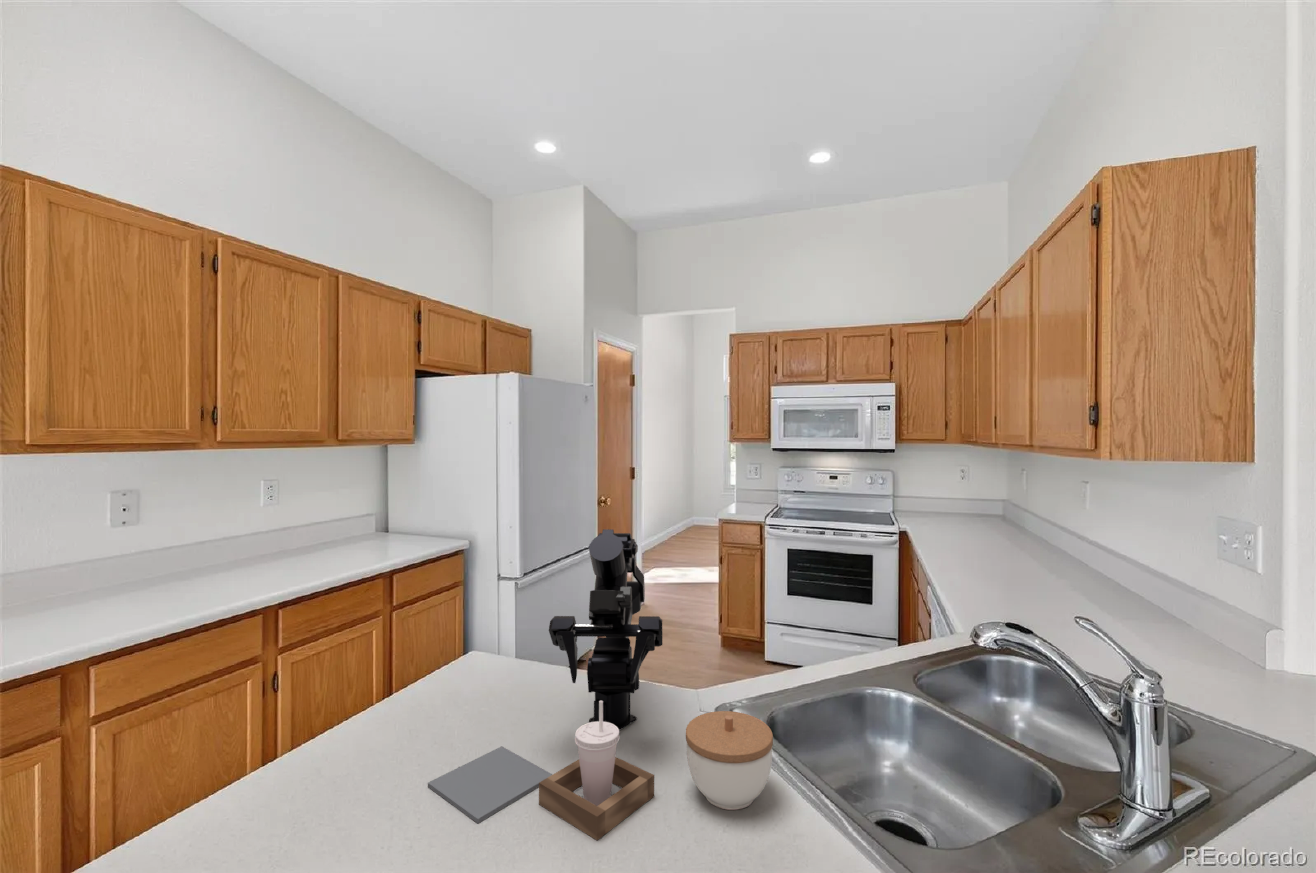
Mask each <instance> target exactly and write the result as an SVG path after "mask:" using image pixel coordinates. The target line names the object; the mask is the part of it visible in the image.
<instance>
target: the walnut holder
mask: <svg viewBox="0 0 1316 873" xmlns="http://www.w3.org/2000/svg"><path fill="white" fill-rule="evenodd" d="M552 774H553V775H551V776H550V777H548V778H546V779H544V780H543V781H541V782H539V787H538V805H539V806H541V807H542V808H544V809H546V810H547V811H549V812H550V813H552V814H554V815H555V816H557V817H558V818H561V819H562V820H563V821H565V822H567V823H568V824H569V825H571V826H573V827H575V828H576V829H578V830H580V831H581V832H582V833H585V835H588V837H591V838H592V839H594V840H595V841H599V840H600V839H602V837H603V836H605V835H607V834H608V833H609V832H610V831H611V830H613V829H614V828H615V827H617V826H618V825H619V824H620V823H622V822H623V821H624V820H626V819H627V818H628V817H630V816H631V815H632V814H633V813H635V812H636V811H637V810H638V809H640V808H641V807H642V806H643V805H645V804H646V803H648V802H649V801H651V799H653V798H654V797H655V774H653V773H650V772H648V771H647V770H645V769H642V768H641V767H638V766H636V765H634V764H632V763H629V762H627V761H625V760H623V759H621V758H619V757H617V756H615V764H614V772H613V781H612V785H615V786H617V787H619V788H620V789H619V790H618V791H616V792H615V793H614V794H611V797H609V798H608V799H606V800H605V801H604V802H602V803H601V804H599V805H598V806H596V805H594V804H593V803H591V802H589V801H587V800H586V799H584V797H582V796H580V795H578V794H576V792H573V791H576V790H577V789H579V788H580V787H581V786H582V778H581V770H580V761H579V758H578V759H577V760H575V761H573V762H571V763H570V764H568V765H567V766H565V767H563V768H561V769H560V770H558V771H556V772H555V773H552Z"/></svg>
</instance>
